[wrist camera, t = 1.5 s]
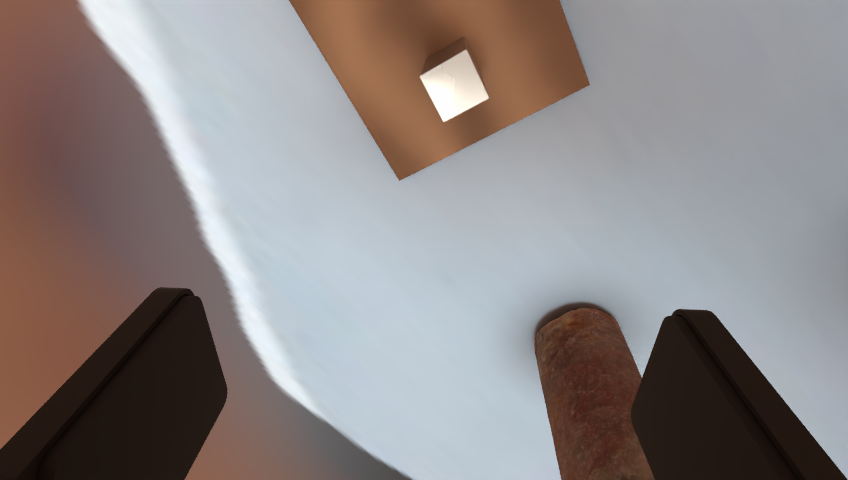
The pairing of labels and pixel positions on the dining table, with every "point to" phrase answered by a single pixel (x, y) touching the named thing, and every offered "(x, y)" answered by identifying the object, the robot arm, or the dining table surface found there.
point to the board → (422, 37)
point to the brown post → (453, 80)
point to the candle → (590, 397)
